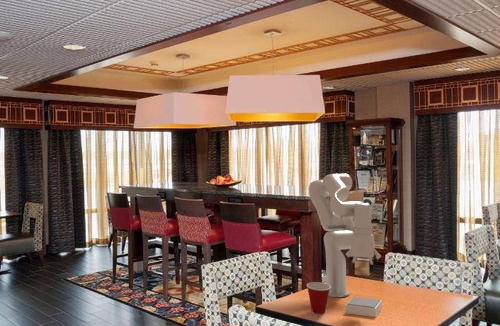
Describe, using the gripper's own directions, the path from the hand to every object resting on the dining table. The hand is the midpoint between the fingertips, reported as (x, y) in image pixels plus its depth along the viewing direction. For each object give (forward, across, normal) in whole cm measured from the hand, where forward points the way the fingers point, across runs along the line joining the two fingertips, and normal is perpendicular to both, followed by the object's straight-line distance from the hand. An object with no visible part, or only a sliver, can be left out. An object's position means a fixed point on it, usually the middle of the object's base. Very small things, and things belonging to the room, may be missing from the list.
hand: (363, 271), depth 213 cm
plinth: (+17, 0, 0) cm, 17 cm away
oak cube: (+1, 0, 0) cm, 1 cm away
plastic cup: (+17, -18, -9) cm, 27 cm away
